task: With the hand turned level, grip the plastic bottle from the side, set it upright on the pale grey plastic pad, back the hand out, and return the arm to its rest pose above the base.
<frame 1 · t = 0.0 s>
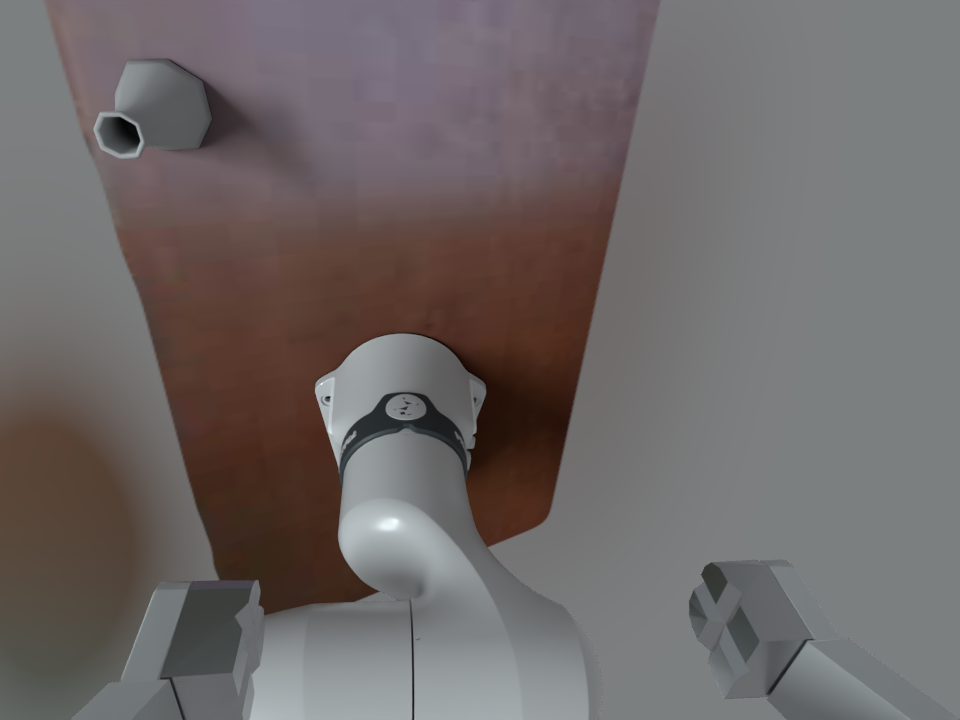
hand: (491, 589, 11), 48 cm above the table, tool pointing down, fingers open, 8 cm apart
flask: (166, 105, 49), on the table
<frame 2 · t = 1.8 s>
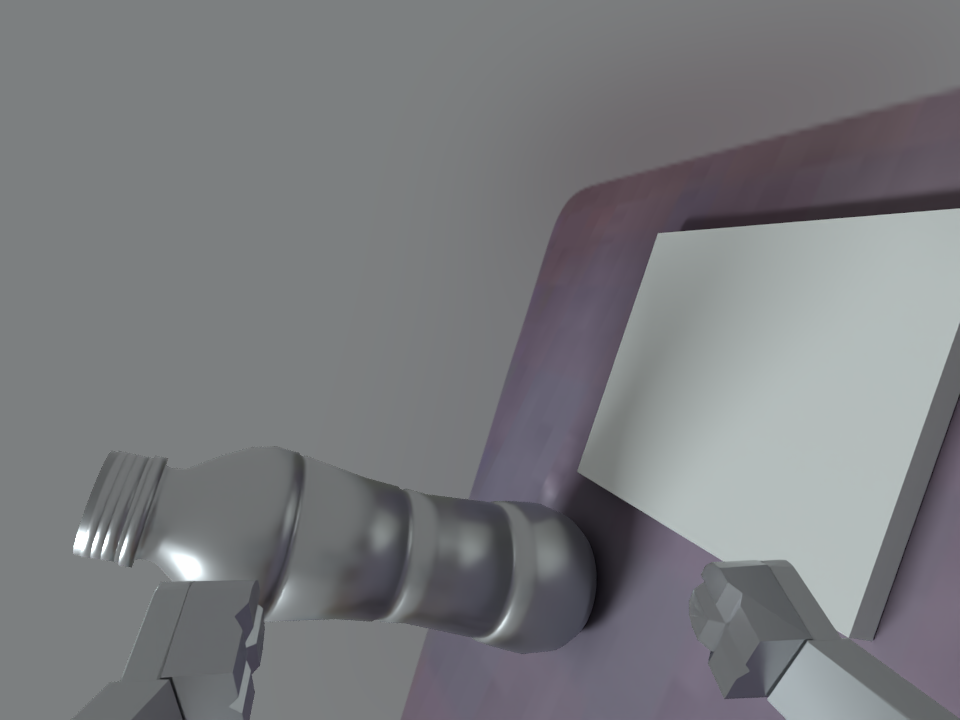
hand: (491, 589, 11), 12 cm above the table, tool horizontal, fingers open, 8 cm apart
plastic bottle: (574, 583, 28), on the table
bottle pad: (745, 385, 23), on the table
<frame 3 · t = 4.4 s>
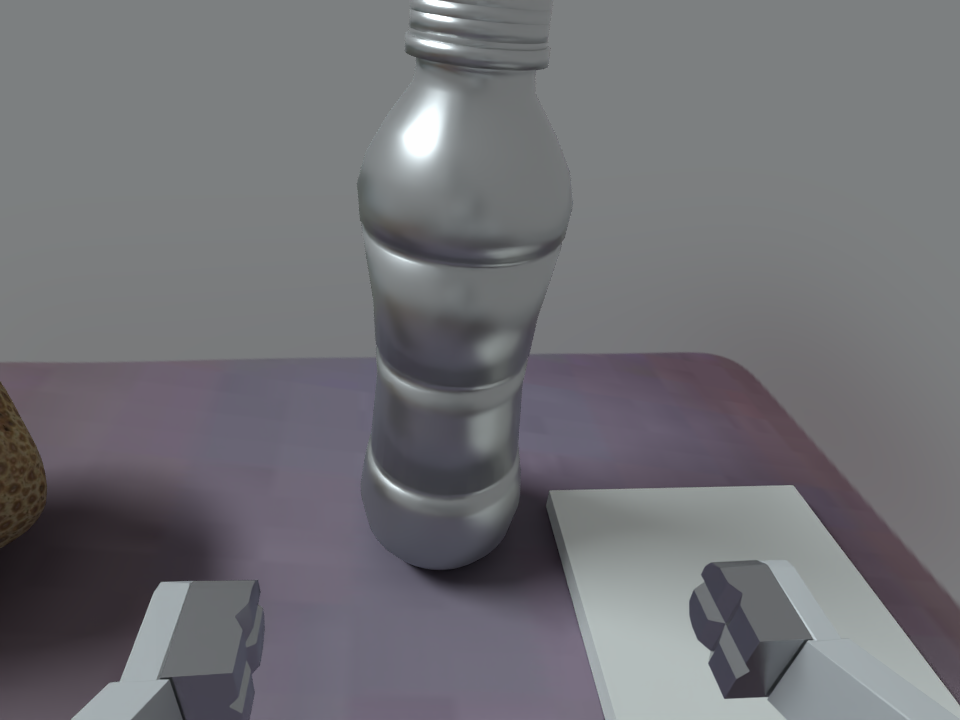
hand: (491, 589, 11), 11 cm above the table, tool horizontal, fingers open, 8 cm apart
plastic bottle: (437, 529, 26), on the table
bottle pad: (740, 643, 23), on the table
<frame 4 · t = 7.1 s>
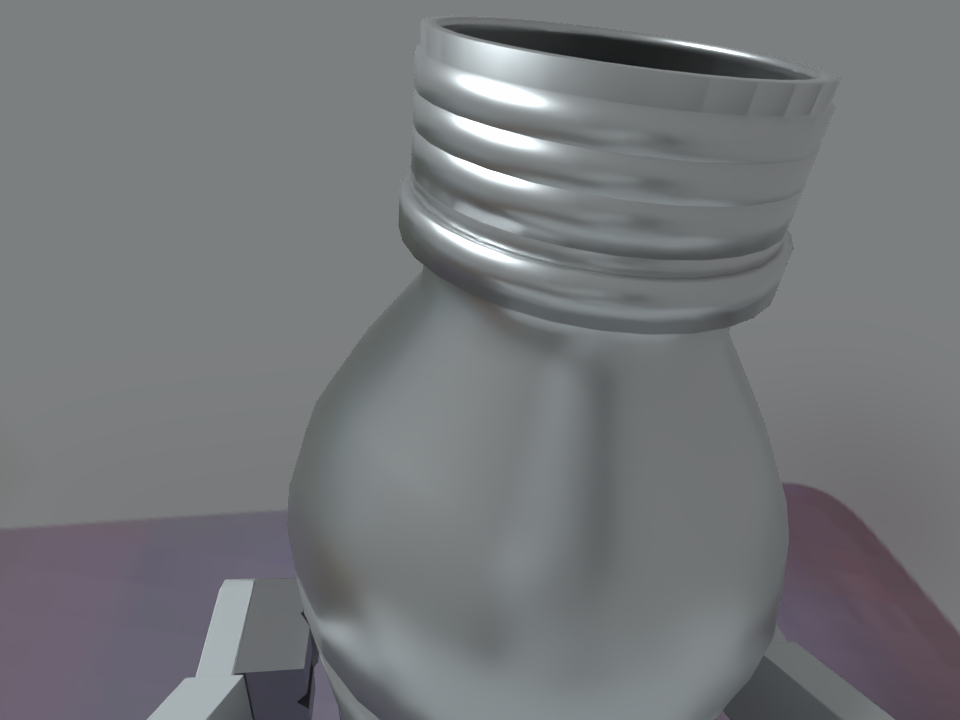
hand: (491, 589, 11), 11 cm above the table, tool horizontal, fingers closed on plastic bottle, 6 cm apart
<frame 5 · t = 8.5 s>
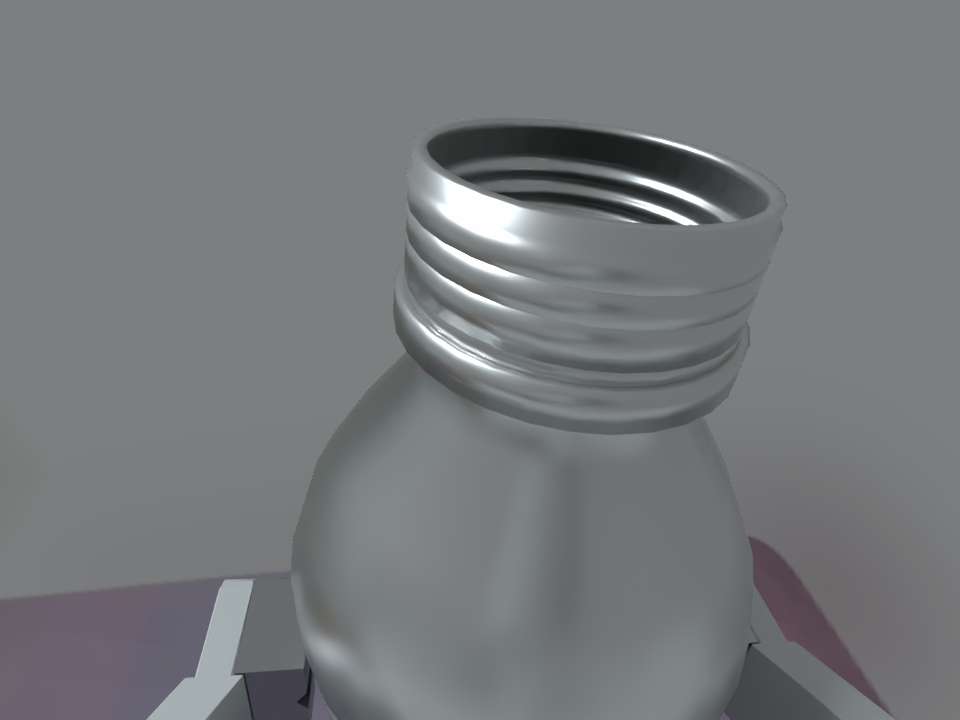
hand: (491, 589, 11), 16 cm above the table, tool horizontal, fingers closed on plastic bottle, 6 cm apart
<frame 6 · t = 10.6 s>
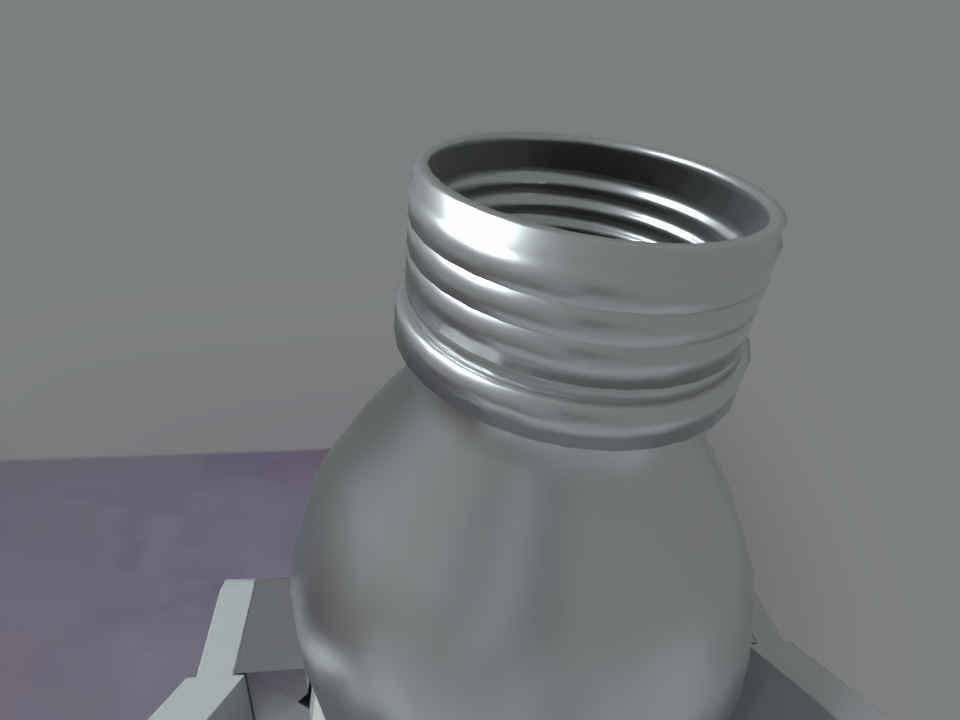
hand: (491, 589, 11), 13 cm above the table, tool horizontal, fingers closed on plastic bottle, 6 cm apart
when the fingers open (13 cm above the table, at t = 10.7 s): plastic bottle stays where it is, resting on bottle pad.
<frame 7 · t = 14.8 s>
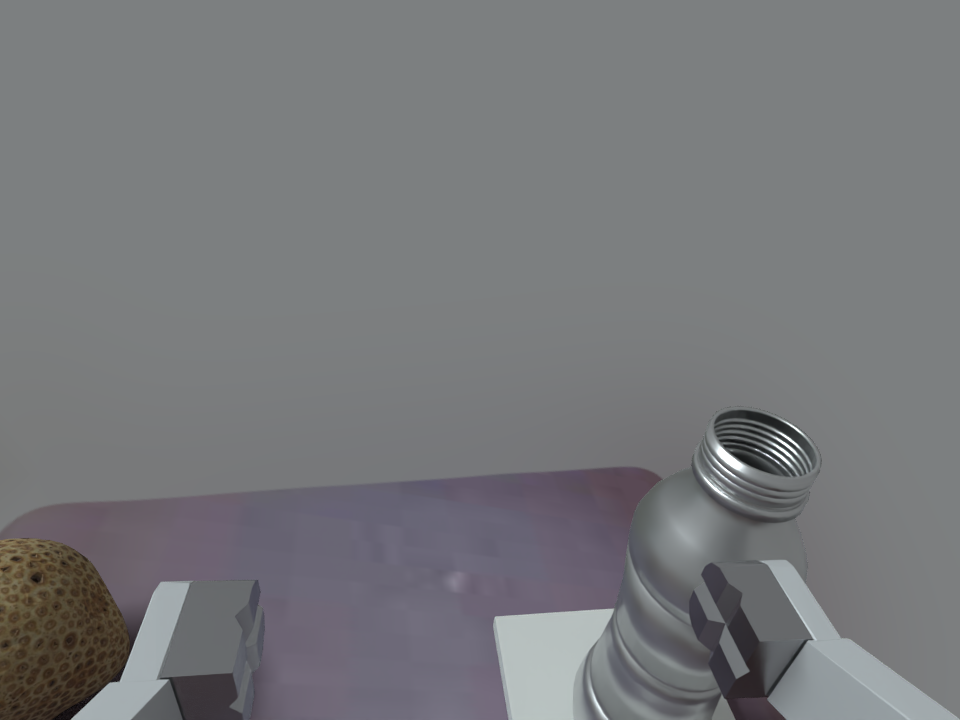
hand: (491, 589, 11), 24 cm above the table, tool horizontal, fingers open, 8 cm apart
natural sponge: (40, 697, 31), on the table
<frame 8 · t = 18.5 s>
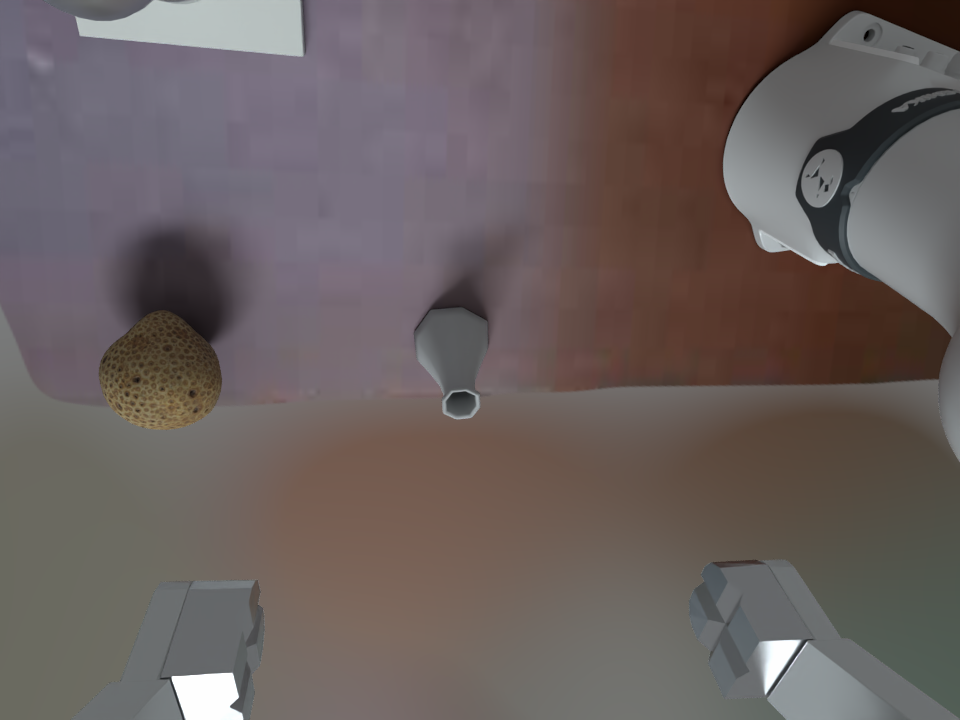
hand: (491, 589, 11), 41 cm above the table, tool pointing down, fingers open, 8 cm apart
flask: (451, 337, 56), on the table
natural sponge: (181, 340, 53), on the table
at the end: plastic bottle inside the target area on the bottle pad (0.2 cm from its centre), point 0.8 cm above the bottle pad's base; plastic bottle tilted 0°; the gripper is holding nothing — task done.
